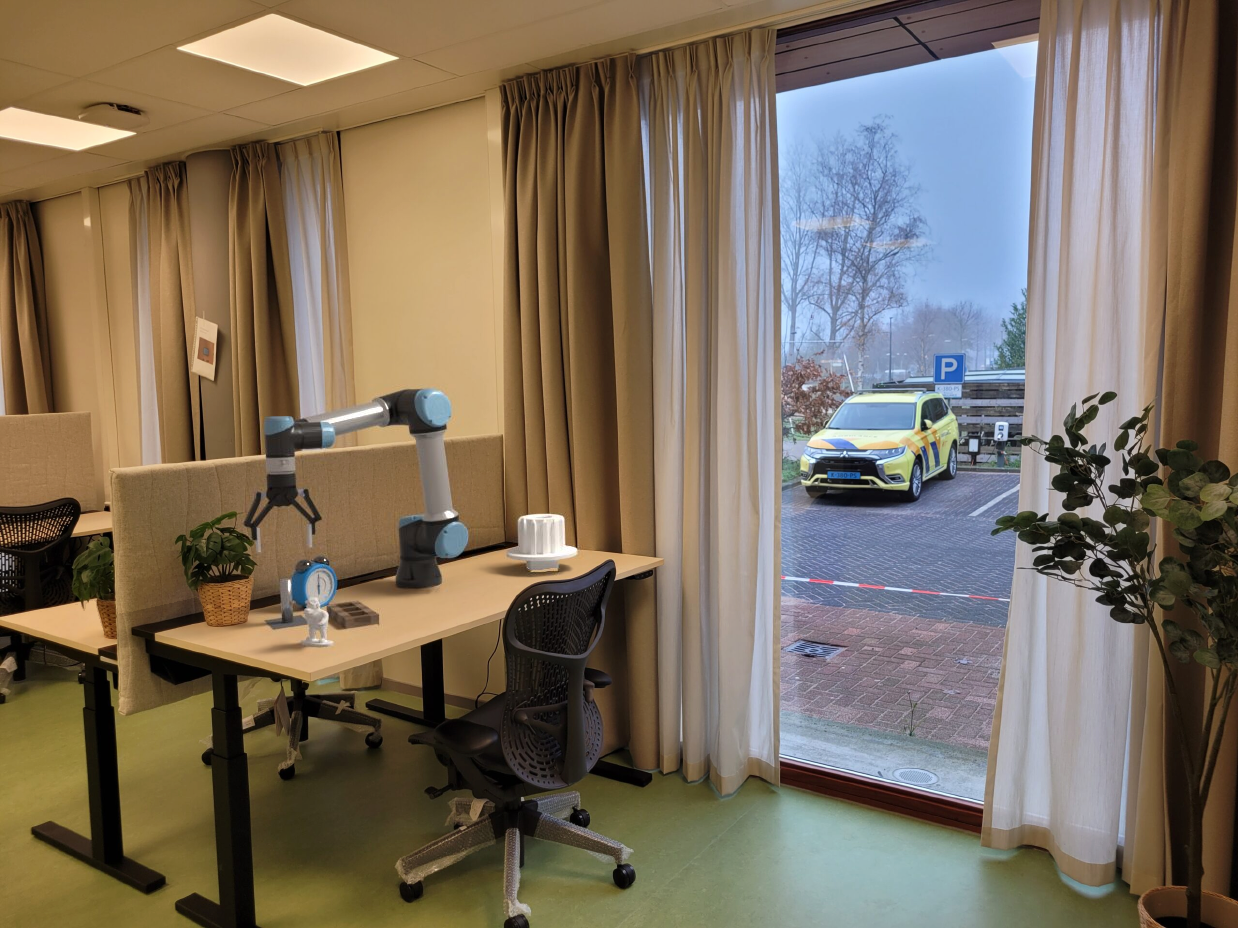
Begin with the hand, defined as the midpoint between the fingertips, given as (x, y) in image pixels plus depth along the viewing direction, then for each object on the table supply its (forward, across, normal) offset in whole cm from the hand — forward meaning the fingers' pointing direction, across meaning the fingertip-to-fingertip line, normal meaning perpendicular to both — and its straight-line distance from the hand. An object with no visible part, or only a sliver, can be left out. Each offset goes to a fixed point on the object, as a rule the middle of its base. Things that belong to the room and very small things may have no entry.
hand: (284, 549), depth 250 cm
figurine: (+21, +1, -26) cm, 34 cm away
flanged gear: (+21, +92, +24) cm, 97 cm away
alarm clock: (+21, +11, +15) cm, 28 cm away
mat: (+21, 0, 0) cm, 21 cm away
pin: (+20, 0, 0) cm, 20 cm away
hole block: (+21, +16, -7) cm, 27 cm away
